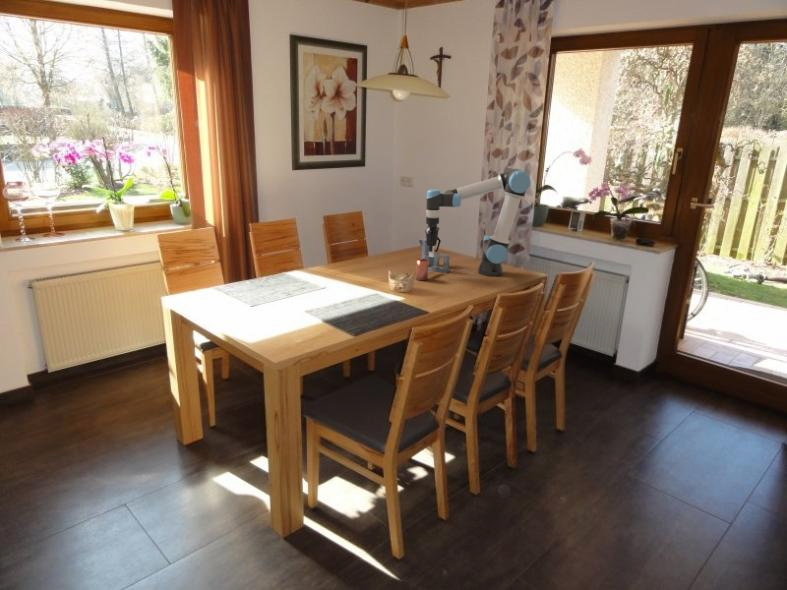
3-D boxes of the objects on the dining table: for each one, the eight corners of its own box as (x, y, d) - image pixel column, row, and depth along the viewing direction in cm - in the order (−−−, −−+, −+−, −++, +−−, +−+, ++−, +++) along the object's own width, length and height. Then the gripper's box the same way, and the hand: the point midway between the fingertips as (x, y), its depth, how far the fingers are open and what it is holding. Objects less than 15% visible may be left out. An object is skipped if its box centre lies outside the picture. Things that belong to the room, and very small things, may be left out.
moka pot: (413, 264, 355) (415, 233, 349) (434, 262, 361) (436, 232, 355) (420, 268, 347) (422, 236, 341) (442, 266, 353) (444, 235, 347)
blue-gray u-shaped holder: (450, 271, 342) (451, 254, 338) (445, 273, 337) (447, 256, 334) (436, 268, 347) (437, 252, 343) (431, 270, 342) (432, 253, 339)
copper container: (441, 273, 335) (442, 254, 331) (423, 280, 318) (425, 261, 314) (431, 271, 338) (432, 252, 335) (413, 278, 321) (414, 259, 317)
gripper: (432, 214, 326) (431, 253, 333) (421, 217, 315) (420, 258, 323) (443, 216, 322) (442, 255, 329) (433, 219, 312) (431, 259, 319)
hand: (431, 256), depth 326 cm, fingers closed
